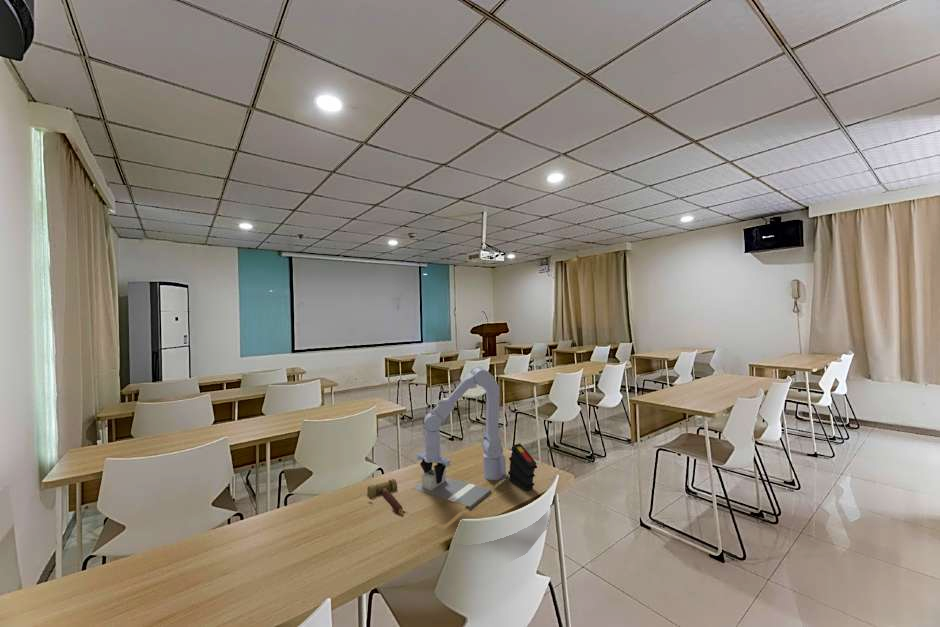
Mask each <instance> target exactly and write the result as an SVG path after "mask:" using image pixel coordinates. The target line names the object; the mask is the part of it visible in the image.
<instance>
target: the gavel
mask: <svg viewBox="0 0 940 627" xmlns="http://www.w3.org/2000/svg"><path fill="white" fill-rule="evenodd" d="M366 489H367V490H366V491H367V494H368V496H370V498H369V499H370V500H372V498H373V497H377V496H378V495H381V494H382V496H383V497H384V499H385V500H386V501H387V502H388V504H389V505H390V507H392V510H393V511H394V512H395V513H397V514H398V515H400V516H403V515H404V510H403V507H402V505H401V504H400V503H399V501H398V500H397V499H396V498H395V496H394V494H392V493H391V491H392V492H394V491H396V490H398V484H397V481H396V479H395V478H392V479H389V480H388V481H384V482H381V483H377V484H371V485H368V486H367V488H366Z"/></svg>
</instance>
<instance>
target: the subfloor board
mask: <svg viewBox="0 0 940 627" xmlns="http://www.w3.org/2000/svg"><path fill="white" fill-rule="evenodd" d="M411 489H412V490H416V491H419V492H421V493H425V494H428V495H431V496H435V497H439V498H440V499H444V500H448V501H452V502H453V503H457V504H461V505H464V506H465V507H464V508H465V509H467V508H468V509H467V510H471V509H472V508H473V507H475V506H476V505H477V504H478V503H480V502H481V501H482V500H483V499H485V498H486V497H487V496H488V495H489V494H490V493H492V489H491V488H487V487H483V486H479V485H476V484H472V483H468V482H465V481H462V480H458V479H454V478H450V477H447V476H446V481H445V482H443V483H442V484H440V485H438V486H437V487H435V488H434V489H432V490H429V489H426V488H422V482H420V483H418V484H417V485H415V486H414V487H412V488H411Z"/></svg>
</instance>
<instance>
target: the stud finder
mask: <svg viewBox="0 0 940 627" xmlns="http://www.w3.org/2000/svg"><path fill="white" fill-rule="evenodd" d="M446 475H447V472H446V468H445V470H444V473H443V477H442V482H440V483H439V484H437V481H436V473H435V469H434V468H432V470H430V471H429V472H427V473H423V474H422V475H421V483H422V488H426V489H429V490H432V489H434V488H435V487H437V486H438V485H440V484H442V483H443V482H445V481H446V477H447V476H446Z"/></svg>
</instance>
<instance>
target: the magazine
mask: <svg viewBox="0 0 940 627" xmlns="http://www.w3.org/2000/svg"><path fill="white" fill-rule="evenodd" d="M511 450H512V451H511V455H510V457H508V458H509V459H508V460H509V471H508V472H507V474H508V476H509V481H510V482H511V483H512V484H514V485H516V486H518V487H519V488H521V489H523V490H524V491H526V492H529V491H531V490H533V489H534V486H535V483H534V477H536V475H535V473H534V472H535V470H536V469H537V468H538V466H537V462H536V461H535V460H534V458H533V457H532V456H531V454H530V453H529V452H528V451H527V450H526V448H524V445H522V444H521V443H519V442H518V443H515V444H514V445H513V446H511Z"/></svg>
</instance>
